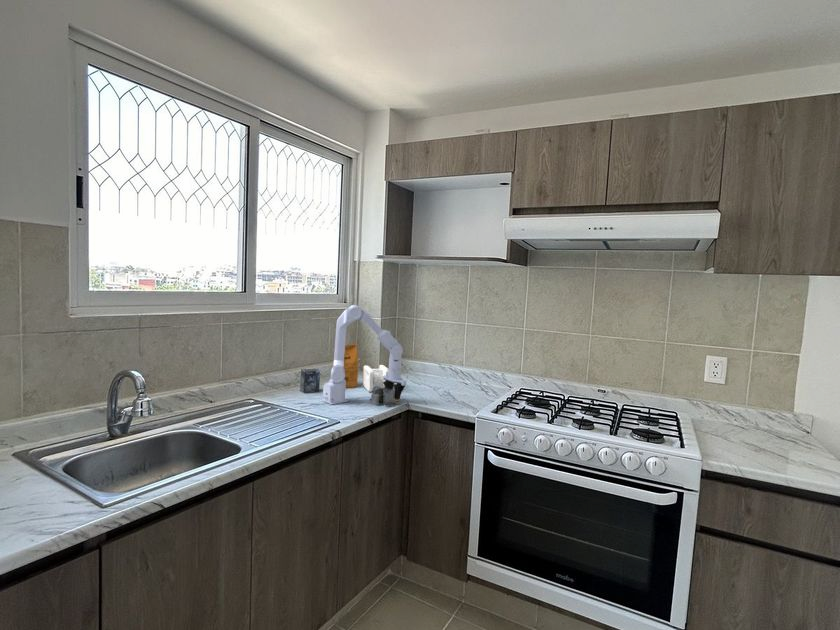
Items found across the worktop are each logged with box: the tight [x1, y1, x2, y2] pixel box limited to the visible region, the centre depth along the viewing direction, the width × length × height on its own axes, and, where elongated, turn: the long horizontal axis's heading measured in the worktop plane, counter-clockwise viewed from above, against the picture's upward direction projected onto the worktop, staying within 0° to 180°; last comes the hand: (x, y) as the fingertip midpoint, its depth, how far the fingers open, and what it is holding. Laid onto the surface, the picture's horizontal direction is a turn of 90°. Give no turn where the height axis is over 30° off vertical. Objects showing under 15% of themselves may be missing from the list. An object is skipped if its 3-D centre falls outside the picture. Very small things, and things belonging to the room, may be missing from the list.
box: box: [299, 368, 321, 394], centre depth 216 cm, size 8×6×11 cm
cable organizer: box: [362, 364, 389, 393], centre depth 226 cm, size 15×11×12 cm
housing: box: [369, 386, 398, 408], centre depth 202 cm, size 5×14×6 cm, turn 44°
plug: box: [370, 388, 401, 406], centre depth 203 cm, size 14×4×5 cm, turn 134°
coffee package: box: [332, 343, 359, 389], centre depth 230 cm, size 10×12×22 cm
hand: (393, 397), depth 206 cm, fingers open, 5 cm apart
